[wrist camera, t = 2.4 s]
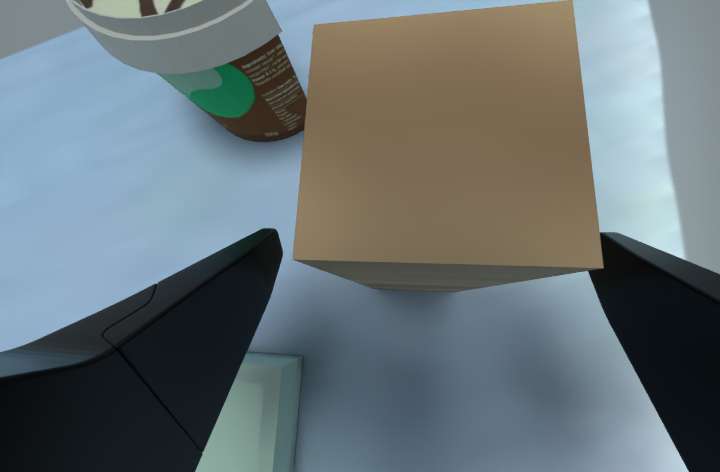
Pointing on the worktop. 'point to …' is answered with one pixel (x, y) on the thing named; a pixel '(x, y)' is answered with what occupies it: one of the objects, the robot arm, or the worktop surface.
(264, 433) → the tray
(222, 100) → the food container
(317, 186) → the walnut post
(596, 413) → the worktop surface
